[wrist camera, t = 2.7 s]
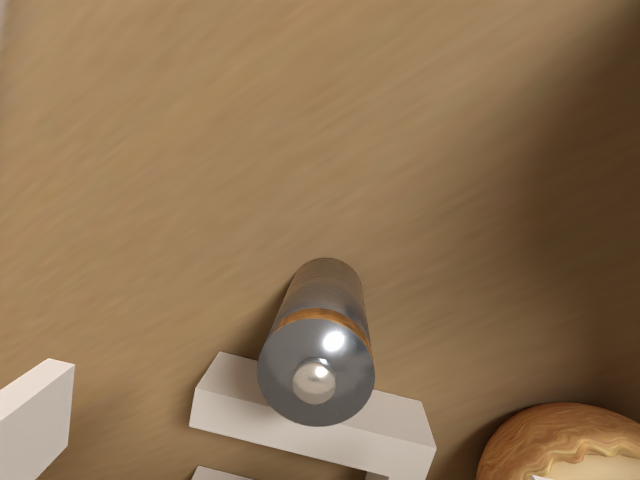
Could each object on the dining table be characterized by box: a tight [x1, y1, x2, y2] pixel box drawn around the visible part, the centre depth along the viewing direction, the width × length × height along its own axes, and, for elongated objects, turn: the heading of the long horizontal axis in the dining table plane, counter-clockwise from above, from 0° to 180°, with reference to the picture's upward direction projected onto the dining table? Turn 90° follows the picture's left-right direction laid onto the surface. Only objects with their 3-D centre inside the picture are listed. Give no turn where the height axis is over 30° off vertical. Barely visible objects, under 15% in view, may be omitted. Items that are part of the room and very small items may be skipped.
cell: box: [257, 258, 375, 427], centre depth 18 cm, size 5×5×10 cm
